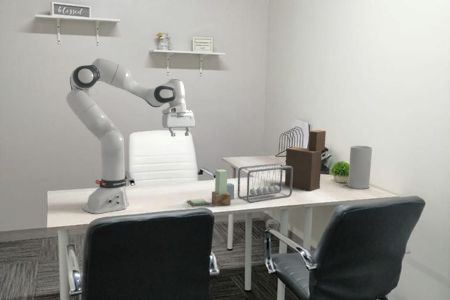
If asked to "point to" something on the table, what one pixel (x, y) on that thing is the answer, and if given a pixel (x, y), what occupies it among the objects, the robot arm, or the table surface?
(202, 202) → the green tile
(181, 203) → the table surface
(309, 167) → the stacked brown boxes
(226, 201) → the walnut block
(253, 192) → the newton's cradle
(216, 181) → the green pillar
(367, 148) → the cylinder vase
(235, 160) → the table surface
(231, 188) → the slate-blue pillar
